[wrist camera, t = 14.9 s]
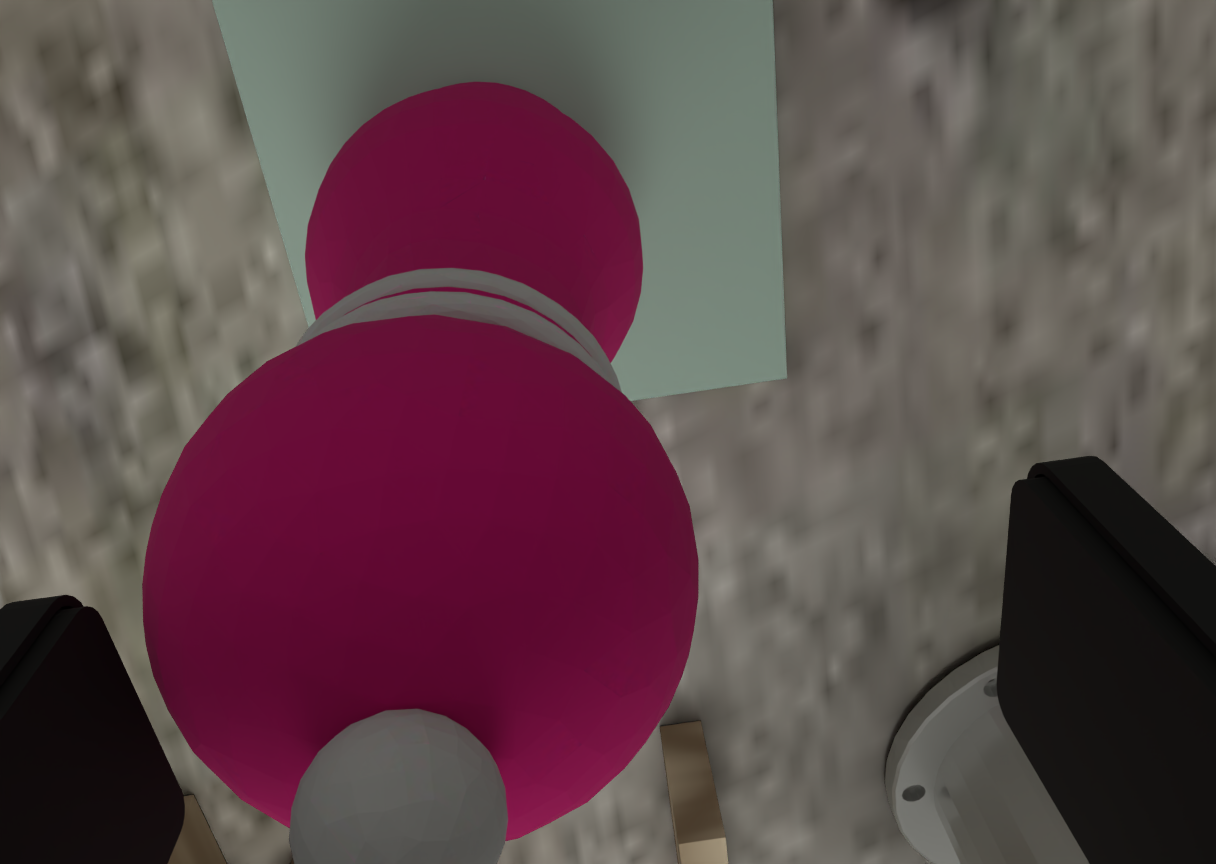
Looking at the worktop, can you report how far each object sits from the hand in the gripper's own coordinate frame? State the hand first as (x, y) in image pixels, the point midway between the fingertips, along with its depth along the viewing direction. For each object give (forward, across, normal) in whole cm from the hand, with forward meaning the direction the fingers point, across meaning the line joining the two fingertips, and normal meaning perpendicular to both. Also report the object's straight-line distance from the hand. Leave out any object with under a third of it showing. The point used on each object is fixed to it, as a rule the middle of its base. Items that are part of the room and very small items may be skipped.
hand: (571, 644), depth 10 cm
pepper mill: (+17, +2, -1) cm, 17 cm away
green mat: (+18, +1, -1) cm, 18 cm away
